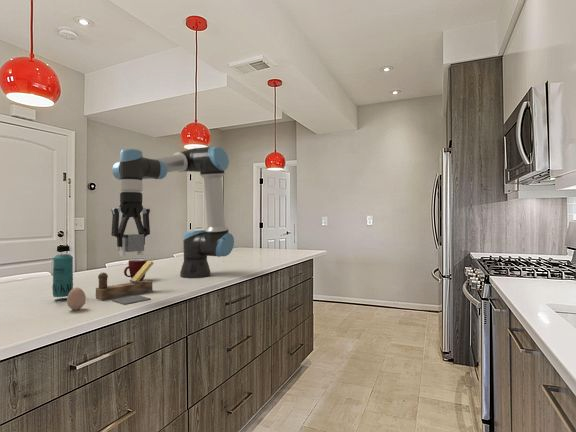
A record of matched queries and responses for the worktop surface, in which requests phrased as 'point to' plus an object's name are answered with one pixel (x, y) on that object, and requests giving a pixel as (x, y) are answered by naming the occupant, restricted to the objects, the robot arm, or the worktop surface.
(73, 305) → the egg
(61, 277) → the beverage bottle
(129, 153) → the robot arm
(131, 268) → the mug
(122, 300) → the pad
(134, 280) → the lever
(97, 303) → the worktop surface
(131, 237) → the grey block
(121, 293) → the plane body
